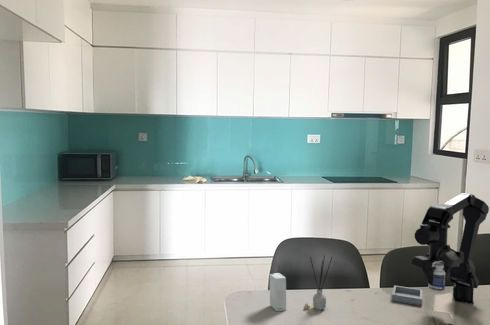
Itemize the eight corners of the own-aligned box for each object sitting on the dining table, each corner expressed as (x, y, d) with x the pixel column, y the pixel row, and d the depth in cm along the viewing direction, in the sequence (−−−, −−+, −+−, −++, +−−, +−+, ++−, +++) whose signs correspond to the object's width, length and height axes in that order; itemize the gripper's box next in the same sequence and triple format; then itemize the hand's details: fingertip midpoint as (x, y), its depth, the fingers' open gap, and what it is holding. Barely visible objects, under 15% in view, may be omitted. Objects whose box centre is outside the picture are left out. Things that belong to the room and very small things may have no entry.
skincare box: (286, 310, 143) (287, 277, 143) (275, 312, 142) (276, 279, 141) (279, 303, 149) (280, 272, 149) (268, 305, 148) (269, 273, 147)
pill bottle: (446, 293, 140) (447, 266, 140) (430, 292, 142) (431, 265, 141) (442, 288, 146) (443, 262, 145) (426, 286, 147) (427, 261, 146)
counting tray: (422, 295, 158) (422, 289, 158) (421, 305, 149) (422, 299, 148) (394, 291, 163) (394, 285, 162) (391, 300, 153) (392, 294, 153)
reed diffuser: (328, 305, 148) (330, 252, 147) (334, 313, 141) (336, 258, 140) (302, 306, 147) (303, 253, 146) (307, 314, 140) (308, 259, 139)
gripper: (436, 249, 132) (434, 294, 133) (477, 244, 138) (475, 288, 139) (411, 240, 142) (410, 283, 143) (450, 237, 149) (449, 277, 150)
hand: (436, 283), depth 144 cm, fingers closed on pill bottle, 5 cm apart
